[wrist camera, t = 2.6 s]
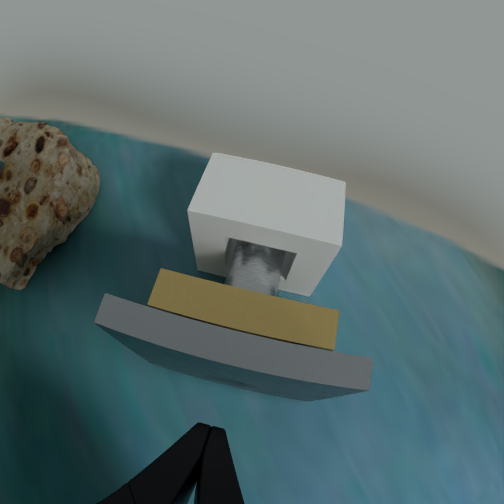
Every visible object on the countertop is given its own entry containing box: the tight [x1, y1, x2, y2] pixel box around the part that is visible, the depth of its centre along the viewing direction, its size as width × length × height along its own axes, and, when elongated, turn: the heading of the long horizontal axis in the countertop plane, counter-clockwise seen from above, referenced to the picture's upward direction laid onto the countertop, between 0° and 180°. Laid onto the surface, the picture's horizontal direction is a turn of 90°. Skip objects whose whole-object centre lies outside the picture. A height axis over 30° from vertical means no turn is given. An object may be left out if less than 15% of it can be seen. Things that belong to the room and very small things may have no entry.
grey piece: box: [94, 240, 373, 402], centre depth 16 cm, size 9×10×9 cm
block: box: [187, 152, 346, 297], centre depth 20 cm, size 4×8×7 cm, turn 77°
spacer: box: [147, 268, 339, 351], centre depth 17 cm, size 2×9×6 cm, turn 77°
